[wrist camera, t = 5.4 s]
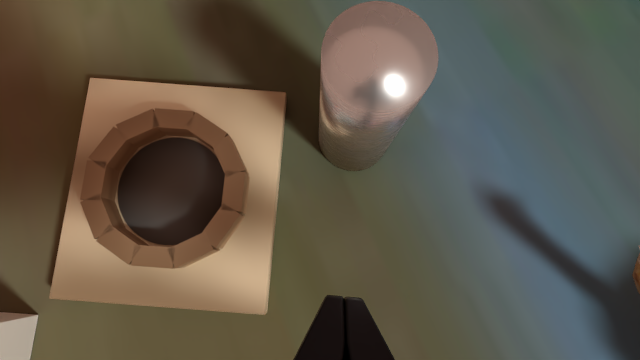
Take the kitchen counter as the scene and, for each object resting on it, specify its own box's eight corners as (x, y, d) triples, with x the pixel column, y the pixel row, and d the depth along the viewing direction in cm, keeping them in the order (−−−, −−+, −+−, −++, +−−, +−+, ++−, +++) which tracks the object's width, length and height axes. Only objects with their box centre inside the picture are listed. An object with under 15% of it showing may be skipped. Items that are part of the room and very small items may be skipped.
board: (266, 312, 22) (261, 319, 20) (60, 296, 22) (29, 301, 20) (286, 98, 24) (283, 81, 22) (99, 84, 24) (75, 65, 22)
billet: (386, 173, 24) (436, 113, 14) (315, 168, 24) (316, 105, 14) (389, 106, 24) (439, 5, 15) (321, 101, 24) (325, -4, 15)
